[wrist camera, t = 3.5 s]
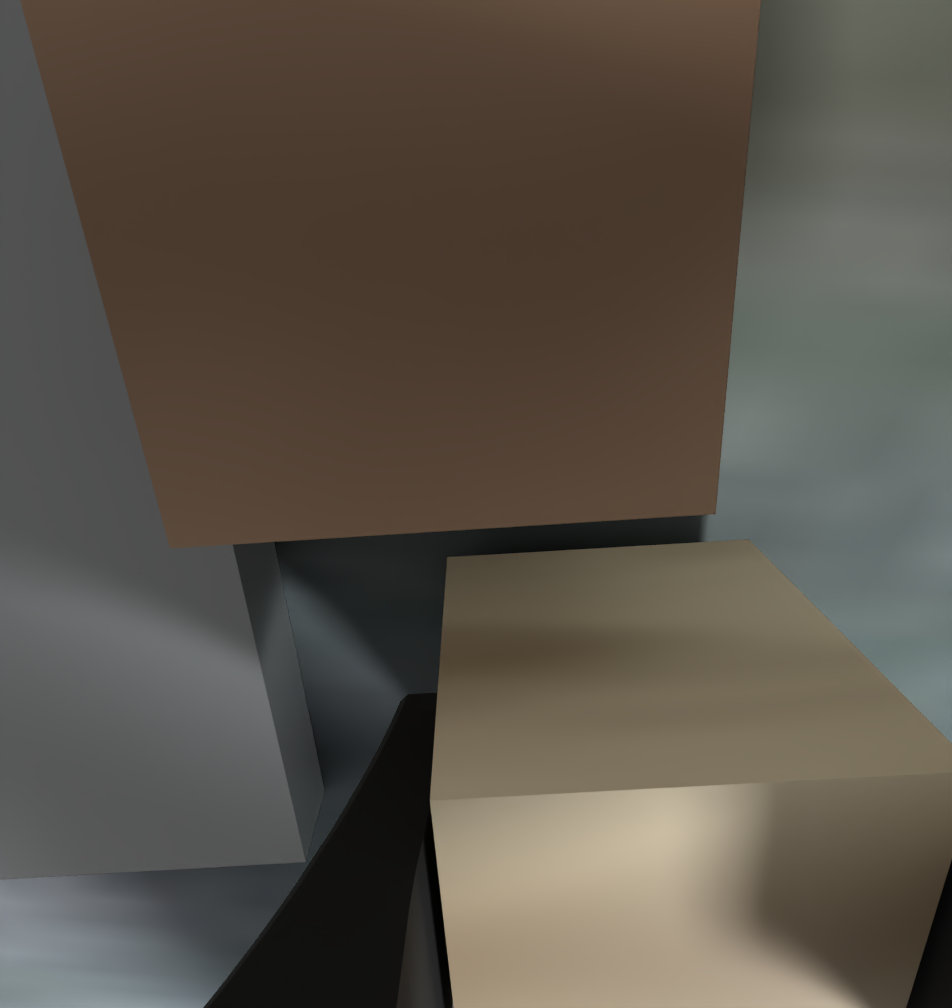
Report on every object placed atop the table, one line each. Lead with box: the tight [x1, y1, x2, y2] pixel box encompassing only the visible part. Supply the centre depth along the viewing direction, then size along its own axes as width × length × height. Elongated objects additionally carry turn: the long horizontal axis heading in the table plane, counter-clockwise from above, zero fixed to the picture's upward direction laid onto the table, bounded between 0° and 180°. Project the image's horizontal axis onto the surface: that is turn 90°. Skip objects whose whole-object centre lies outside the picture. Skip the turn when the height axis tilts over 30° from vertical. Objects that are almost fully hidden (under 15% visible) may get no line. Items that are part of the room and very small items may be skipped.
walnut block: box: [20, 0, 761, 548], centre depth 6 cm, size 4×4×4 cm
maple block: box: [430, 539, 952, 1008], centre depth 8 cm, size 4×4×4 cm
